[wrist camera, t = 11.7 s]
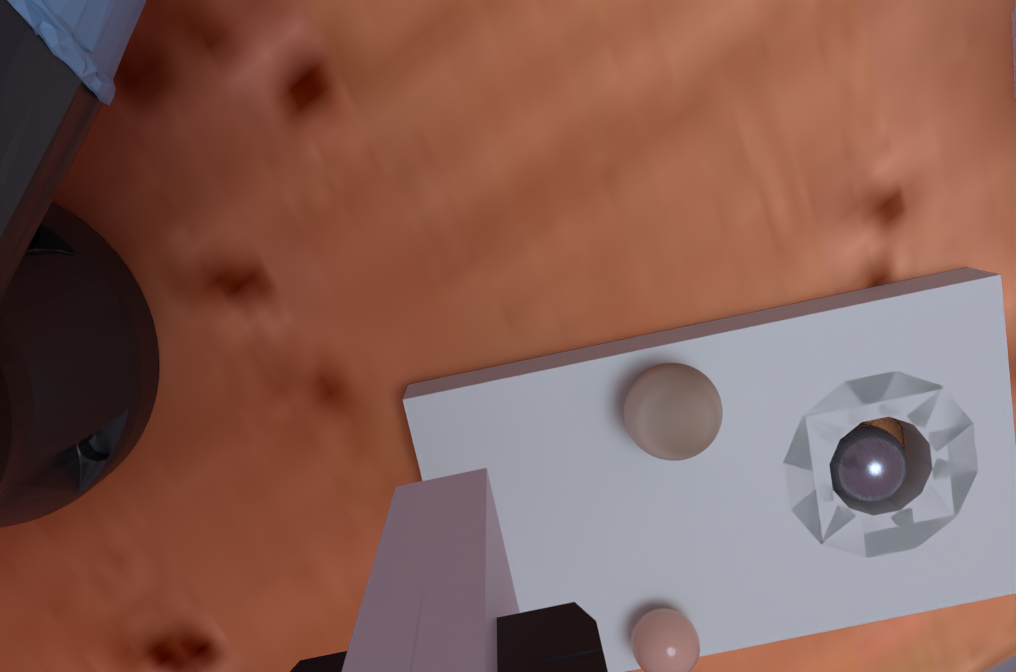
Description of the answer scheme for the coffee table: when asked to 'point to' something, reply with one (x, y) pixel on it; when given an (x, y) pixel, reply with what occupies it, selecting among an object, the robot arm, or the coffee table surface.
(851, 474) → the steel ball
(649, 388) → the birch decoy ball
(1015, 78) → the container
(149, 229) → the coffee table surface
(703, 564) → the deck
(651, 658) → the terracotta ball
